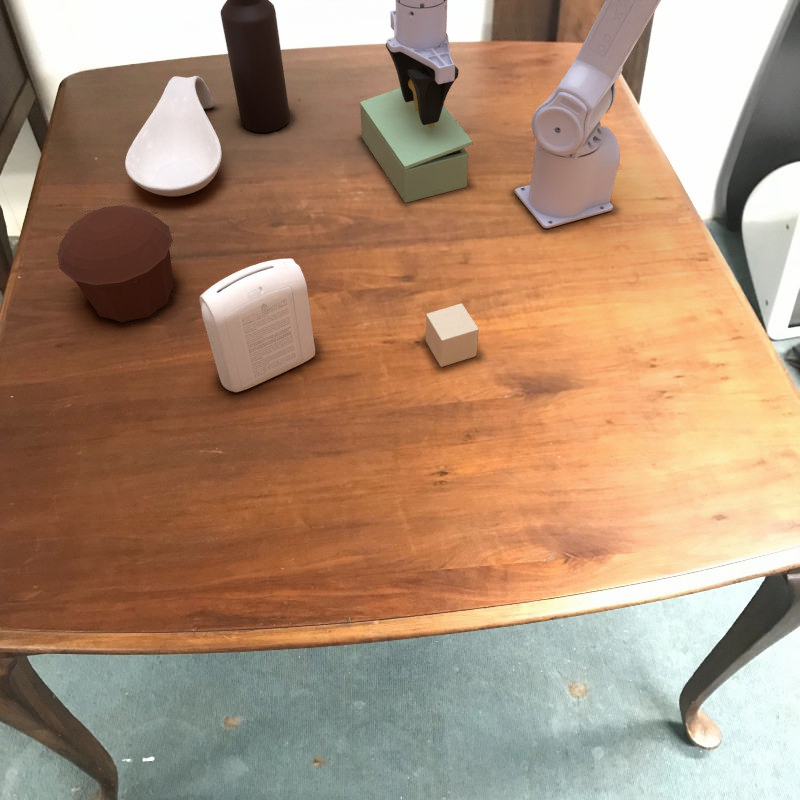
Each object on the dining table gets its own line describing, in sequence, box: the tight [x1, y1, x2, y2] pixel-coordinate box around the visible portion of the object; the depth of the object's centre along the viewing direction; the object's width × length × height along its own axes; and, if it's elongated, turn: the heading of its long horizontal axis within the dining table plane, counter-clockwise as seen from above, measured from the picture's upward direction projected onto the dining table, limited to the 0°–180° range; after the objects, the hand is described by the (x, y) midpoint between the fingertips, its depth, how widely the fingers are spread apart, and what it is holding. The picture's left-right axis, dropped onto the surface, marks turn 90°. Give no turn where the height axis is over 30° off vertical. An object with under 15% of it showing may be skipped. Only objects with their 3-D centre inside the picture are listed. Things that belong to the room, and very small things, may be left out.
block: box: [425, 302, 480, 368], centre depth 78 cm, size 4×4×4 cm
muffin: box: [57, 204, 174, 323], centre depth 82 cm, size 12×11×10 cm
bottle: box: [219, 0, 291, 134], centre depth 99 cm, size 7×7×20 cm
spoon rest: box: [124, 75, 223, 197], centre depth 99 cm, size 24×12×7 cm, turn 3°
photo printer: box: [199, 258, 316, 393], centre depth 74 cm, size 10×4×12 cm, turn 123°
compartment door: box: [359, 79, 474, 170], centre depth 95 cm, size 9×15×5 cm, turn 22°
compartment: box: [359, 105, 470, 204], centre depth 99 cm, size 8×15×5 cm, turn 22°
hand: (420, 110), depth 95 cm, fingers closed on compartment door, 5 cm apart
